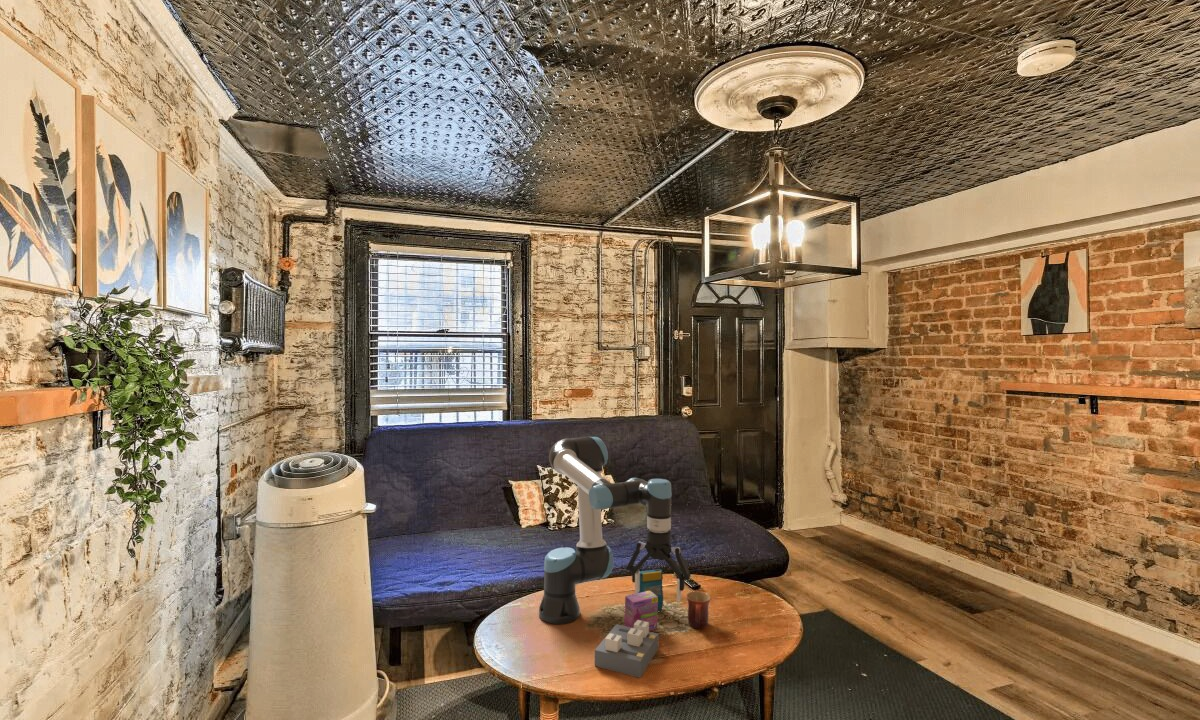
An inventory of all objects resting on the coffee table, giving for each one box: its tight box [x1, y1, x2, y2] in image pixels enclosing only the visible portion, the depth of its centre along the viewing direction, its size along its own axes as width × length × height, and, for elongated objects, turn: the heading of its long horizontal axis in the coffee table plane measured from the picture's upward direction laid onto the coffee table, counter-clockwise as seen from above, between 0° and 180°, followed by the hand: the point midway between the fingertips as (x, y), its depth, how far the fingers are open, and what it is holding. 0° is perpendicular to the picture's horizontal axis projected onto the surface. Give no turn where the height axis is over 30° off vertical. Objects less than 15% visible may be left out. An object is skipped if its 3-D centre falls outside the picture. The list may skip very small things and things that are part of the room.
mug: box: [685, 590, 712, 630], centre depth 196 cm, size 12×9×10 cm
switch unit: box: [594, 624, 659, 679], centre depth 176 cm, size 15×18×5 cm
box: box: [624, 590, 658, 632], centre depth 194 cm, size 10×6×12 cm, turn 117°
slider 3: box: [627, 628, 643, 647], centre depth 175 cm, size 4×4×4 cm
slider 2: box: [634, 620, 650, 638], centre depth 181 cm, size 4×4×4 cm
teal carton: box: [638, 568, 664, 613], centre depth 208 cm, size 10×4×15 cm, turn 108°
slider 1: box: [605, 633, 622, 652], centre depth 172 cm, size 4×4×4 cm
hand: (657, 596), depth 173 cm, fingers open, 13 cm apart
